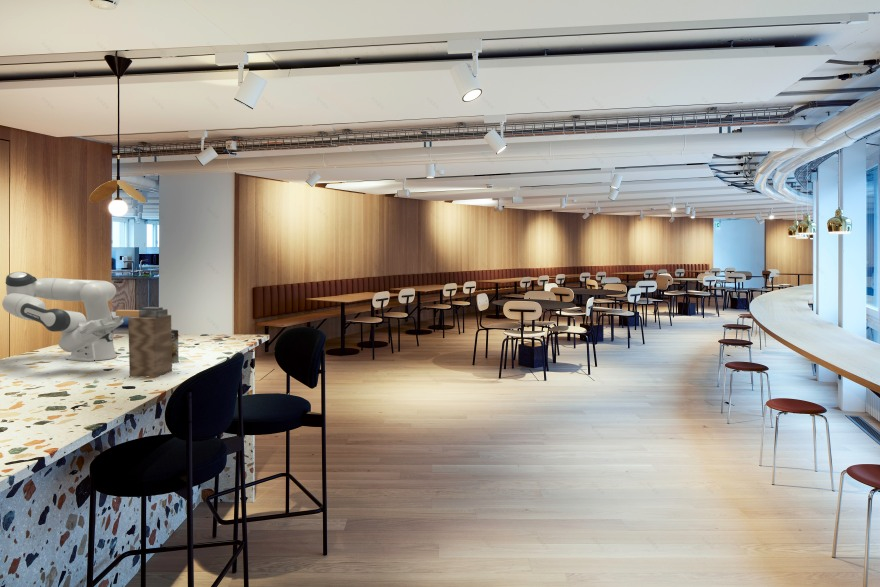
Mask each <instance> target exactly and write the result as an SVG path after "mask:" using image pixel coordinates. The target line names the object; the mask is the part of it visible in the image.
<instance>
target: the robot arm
mask: <svg viewBox="0 0 880 587" xmlns="http://www.w3.org/2000/svg"><path fill="white" fill-rule="evenodd" d="M5 277H6V278H5V286H6V296H4V298H3V300H2V302H1V303H2V304H1V305H2V306H1V307H2V308H3V309H4V310H5V311H6V312H8V313H9V314H10V315H12V316H13V317H14V316H15V317H16V318H19V319H23V320H26V321H32V322H33V321H35V322H37V323H40V324H41V325H42V326H43V327H45V329H46V330H48V331H49V332H54V333H56V332H61V336H60V338H59V339H58V342H57V343H58V346H59V348H60V349H61V350H63V351H64V352H66V353H70V355H67V356H66V357H65V359H66V360H67V359H68V361H69V360H70V361H71V360H72V361H79V362H80V361H81V362H94V360H95V361H103V360H111V359H115V358H117V353H116V351H115V345H114V330H115V329H117V328H118V327H120V326H122V325H123V323H124V322H125V321H124V319H126V318H127V316H116V315H115V316H113V315H112V313H111V310H110V306H109V303H108V302H110V301H112V299H113V298H115V296H116V294H117V288H116V286H115V285H114V284H113V283H112V282H110V281H107V280H98V279H97V280H96V279H95V280H94V279H74V278H73V279H71V278H62V277H61V278H60V277H41V278H36V277H35V276H34V275H32V274H30V273H29V272H25V271H15V272H12V273H9V274H8V275H6V276H5ZM41 299H44V300H51V301H61V302H63V301H64V302H82V303H83V306H84V309H85V314H86V315H85V314H84V313H82V312H79V311H73V310H65V309H59V308H50V309H49V308H48V309H47V305H46V303H45V302H44V300H41Z"/></svg>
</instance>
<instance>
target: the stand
mask: <svg viewBox="0 0 880 587" xmlns="http://www.w3.org/2000/svg"><path fill="white" fill-rule="evenodd" d="M138 310H139V309H138ZM127 321H128V322H127V323H128V360H129V361H128V363H129V367H128V368H129V377H130V376H151V377H150V378H158V377H160V375H161V376H163V375H165V373H166V374H168V373H170V372H173V363H172V334H171V329H172V314H168V309H167V308H163V310H159V311H146V310H142V309H141V310H139V317H131V316H130V317H128V320H127ZM167 372H168V373H167ZM162 374H163V375H162Z"/></svg>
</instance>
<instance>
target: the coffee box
mask: <svg viewBox="0 0 880 587" xmlns="http://www.w3.org/2000/svg"><path fill="white" fill-rule="evenodd" d="M171 334H172V364H174V362H176V363H179V362H180V361H179V359H180V358H179V330H178V329H172V328H171Z"/></svg>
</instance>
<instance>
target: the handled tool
mask: <svg viewBox="0 0 880 587" xmlns="http://www.w3.org/2000/svg"><path fill="white" fill-rule="evenodd" d="M163 309H164V308H163V307H162V306H145V307H141V310H146V311H159V310H163ZM116 316H126V317H130V318H131V317H139V309H138V310H137V309H117V310H115V317H116Z"/></svg>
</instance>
